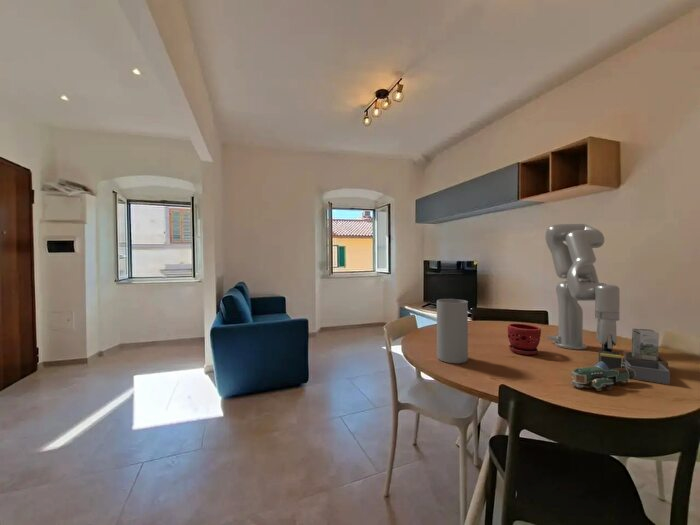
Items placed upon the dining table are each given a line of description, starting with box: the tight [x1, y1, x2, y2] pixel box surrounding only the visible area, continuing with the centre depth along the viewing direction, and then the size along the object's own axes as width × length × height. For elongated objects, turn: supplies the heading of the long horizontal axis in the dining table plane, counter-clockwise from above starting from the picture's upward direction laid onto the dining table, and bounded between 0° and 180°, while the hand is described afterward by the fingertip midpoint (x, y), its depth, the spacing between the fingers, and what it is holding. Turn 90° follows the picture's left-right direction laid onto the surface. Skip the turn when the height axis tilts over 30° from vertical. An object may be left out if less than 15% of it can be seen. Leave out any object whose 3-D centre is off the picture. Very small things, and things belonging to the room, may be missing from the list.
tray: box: [622, 357, 671, 386], centre depth 109 cm, size 10×10×4 cm
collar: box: [623, 350, 669, 370], centre depth 118 cm, size 10×10×4 cm
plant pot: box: [507, 323, 542, 356], centre depth 138 cm, size 13×13×12 cm
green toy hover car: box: [570, 361, 636, 392], centre depth 102 cm, size 10×25×8 cm, turn 101°
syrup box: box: [631, 328, 660, 361], centre depth 118 cm, size 6×6×14 cm
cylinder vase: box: [436, 298, 469, 365], centre depth 129 cm, size 12×12×25 cm
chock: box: [598, 350, 623, 369], centre depth 117 cm, size 6×5×6 cm
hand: (607, 360), depth 122 cm, fingers closed
